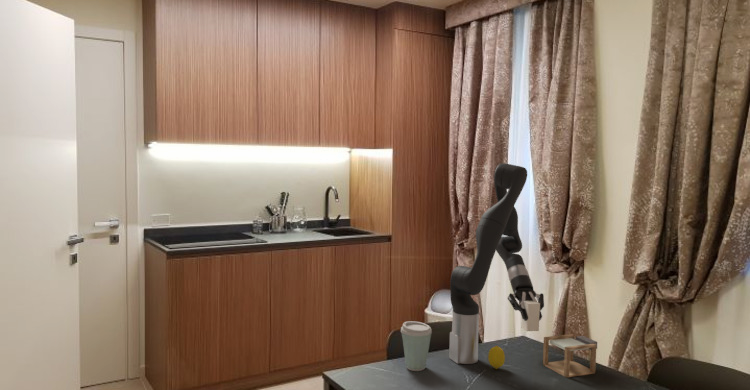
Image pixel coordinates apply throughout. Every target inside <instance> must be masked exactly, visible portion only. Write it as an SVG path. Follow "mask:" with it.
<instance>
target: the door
mask: <svg viewBox="0 0 750 390" xmlns="http://www.w3.org/2000/svg"><path fill="white" fill-rule="evenodd" d="M549 344H551V345H553V346H556V347H557V348H559V349H562V350H564V351H565V347H569V346H577V345H586V344H596V350H597V349H598V341H596V340H594V339H592V338H589V337H587V336H584V335H578V336H575V337H574V338H564V339H555V340H549ZM583 350H590V351H591V348H584V349H576V350H570V351H574V352H575V351H583Z"/></svg>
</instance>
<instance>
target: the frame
mask: <svg viewBox="0 0 750 390" xmlns="http://www.w3.org/2000/svg"><path fill="white" fill-rule="evenodd" d="M567 338H574V339H575V334H572V333H571V334H569V333H568V334H562V335H552V336H551V335H549V336H544V337H543V349H542V352H543V353H542V366H544V367H546V368H548V369H550V370H552V371H553V372H556V373H557V374H558V375H561V376H563V377H564V378H572V377H577V376H578V377H580V376H587V375H594V374H596V365H597V363H596V362H597V349H596V344H586V345H577V346H569V347H565V350H564V354H563V355H564V359H563V360H556V361H549V347H550V345H549V344H550V340H558V339H567ZM584 348H591V350H590V357H589V358H590V361H589V367H587V366H585V365H583V364H581V363H579V362H578V361H575V360H574V353H575V351H570V350H576V349H584Z"/></svg>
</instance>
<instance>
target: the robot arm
mask: <svg viewBox="0 0 750 390" xmlns="http://www.w3.org/2000/svg"><path fill="white" fill-rule="evenodd" d="M527 178H528V170H527V168H525V167H523V166H520V165H515V164H510V163H504V162H503V163H502V162H500V163H499V164H497V166H496V168H495V171H494V174H493V182H494V189H495V196H496V201H497V203H494V204H493V205H492V206H491V207H490V208H488V209H487V210H486V211H485V212H483V214H482V216H481V217H480V220H479V222H478V225H477V227H476V230H475V242H476V256H475V259H474V261H473V263H472V266H471V267H469V266H465V265H458V266H456V267H455V268H454V269H453V270H452V271H451V276H450V282H449V284H450V285H449V287H450V289H449V290H450V292H449V293H450V304H451V306H452V321H451V323H452V324H451V325H452V327H451V331H450V332H449V350H448V351H449V354H448V356H449V357H448V358H449V359H450V360H451V361H453V362H454V363H456V364H457V365H458V364H462V365H463V364H464V365H472V364H475V363H478V360H479V359H478V357H479V327H480V325H479V323H480V305H479V304H478V302H477V301H475V299H473V297H472V296H477V295H479V294H480V293H481V292H482V291H483V289H484V287H485V285H486V282H487V278H488V276H489V271H490V269H491V265H492V261H493V259H494V256H495V253H497V254H498V255H499V257H500V258H501V260H502V261H503V262H504V264H505V265H504V266H505V268H506V272H507V275H508V280H509V283H510V286H511V288H512V292H513V293H509V294H508V296H507V300H508V302H509V303H510V305H511V306H512V308H513V310H514V311H519V312H520V316H521V319H522V318H523V319H524V321H527V319H528V315H527V312H526V309H524V308H525V306H524V301H536V302H538V303H540V315H539V322H540V321H541V320H542V318H543V315H542V312H541V311H542V310H543V308H544V307H545V302H544V301H545V300H544V295H545V294H544V293H537V292H536V291H535V290H534V286H533V283H532V280H531V277H530V274H529V272H528V270H527V269H528V268H527V267H526V265H525V262H524V258H523V257H522V256H521V254H518V253H519V252H521V250H522V248H523V242H522V239H521V237H520V234H519V225H518V224H519V215H518V212H517V209H516V207H515V205H516V202H517V201H518V199H519V197H520V196H521V194H522V190H523V189H524V187H525V185H526V182H527Z"/></svg>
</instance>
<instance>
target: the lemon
mask: <svg viewBox="0 0 750 390" xmlns="http://www.w3.org/2000/svg"><path fill="white" fill-rule="evenodd" d="M487 359H488V362H489V365H490V366H491V367H492V368H494V369H495V370H498V369H500V368H501V367H502V366H503V365H504V364H505V359H506V356H505V352H504V350H503V349H502V348H501V347H500V346H498V345H495V346H493V347H491V348H490V349H489V351H488V355H487Z"/></svg>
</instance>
